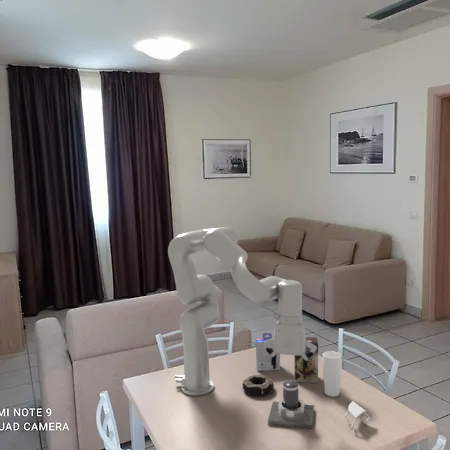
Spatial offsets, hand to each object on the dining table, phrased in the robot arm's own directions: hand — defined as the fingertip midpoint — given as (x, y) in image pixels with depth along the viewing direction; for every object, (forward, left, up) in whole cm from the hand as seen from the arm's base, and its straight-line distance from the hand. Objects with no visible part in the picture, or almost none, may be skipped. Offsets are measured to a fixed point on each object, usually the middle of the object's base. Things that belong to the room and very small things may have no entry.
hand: (289, 368), depth 142 cm
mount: (+1, 0, -17) cm, 17 cm away
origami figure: (+21, +1, -17) cm, 27 cm away
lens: (0, 0, -15) cm, 15 cm away
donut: (-13, +16, -17) cm, 27 cm away
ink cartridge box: (-12, +35, -17) cm, 41 cm away
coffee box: (+4, +28, -17) cm, 33 cm away
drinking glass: (+14, +18, -17) cm, 28 cm away
